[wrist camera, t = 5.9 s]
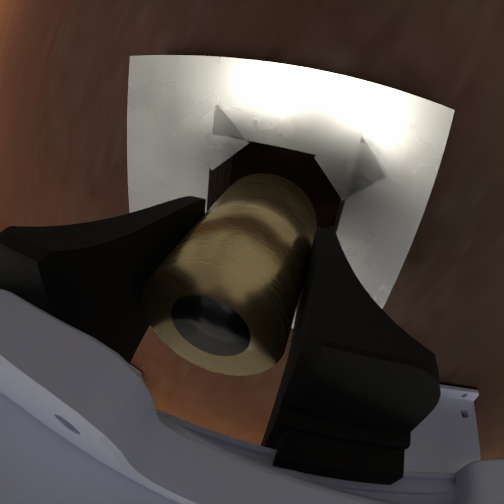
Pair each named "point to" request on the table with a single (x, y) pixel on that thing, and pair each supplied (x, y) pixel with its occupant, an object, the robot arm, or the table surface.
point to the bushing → (235, 278)
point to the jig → (289, 144)
